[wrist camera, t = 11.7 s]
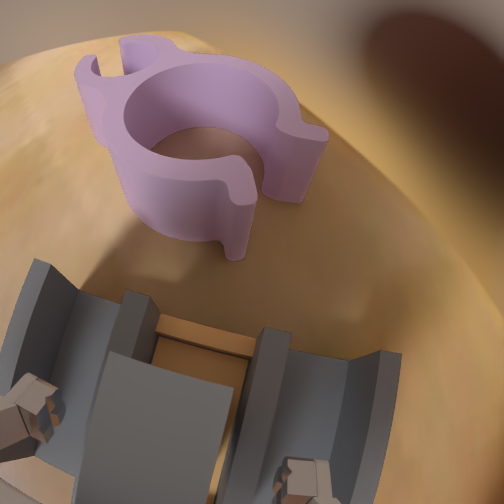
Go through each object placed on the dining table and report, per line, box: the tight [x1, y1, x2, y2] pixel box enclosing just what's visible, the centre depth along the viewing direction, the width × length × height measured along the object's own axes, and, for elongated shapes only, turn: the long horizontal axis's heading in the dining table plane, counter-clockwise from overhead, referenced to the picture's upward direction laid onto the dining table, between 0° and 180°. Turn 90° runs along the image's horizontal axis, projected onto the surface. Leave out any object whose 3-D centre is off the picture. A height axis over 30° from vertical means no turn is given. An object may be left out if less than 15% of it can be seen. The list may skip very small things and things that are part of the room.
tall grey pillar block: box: [75, 351, 234, 504], centre depth 11 cm, size 4×5×9 cm
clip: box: [74, 35, 329, 261], centre depth 22 cm, size 20×12×7 cm, turn 48°
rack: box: [0, 258, 402, 504], centre depth 14 cm, size 19×11×6 cm, turn 77°
